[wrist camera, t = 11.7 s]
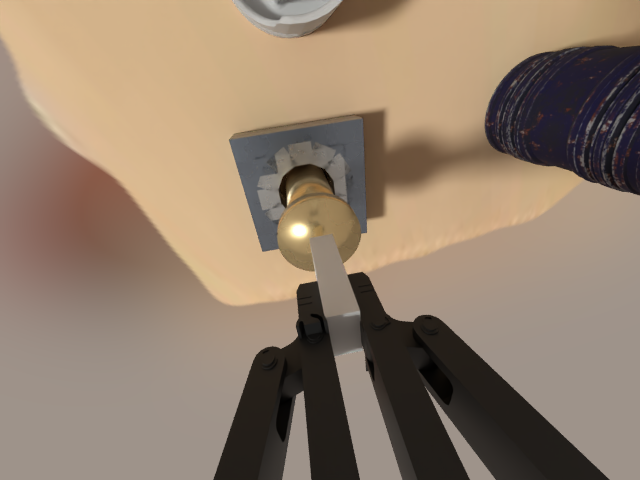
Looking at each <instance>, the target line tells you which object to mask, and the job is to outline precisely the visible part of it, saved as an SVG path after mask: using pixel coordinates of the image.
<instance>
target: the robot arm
mask: <svg viewBox="0 0 640 480" xmlns="http://www.w3.org/2000/svg"><path fill="white" fill-rule="evenodd" d="M309 240H310V246H311V252H312V257H313V263H314V269H315V274H316V279H317V281H315V282H310V283H305V284H300V285H299V287H298V289H297V302H298V314H299V319H298V321H297V323H296V329H297V332H298V337H297V338H296V340H295V341H294V342H292V343H291V344H289V345H288V346H286V347H284V348H282V349H280V348H278V347H273V346H272V347H267V348H265V349H263V350H261V351H260V352H259V353H258V354H257V355H256V357H255V359H254V361H253V364H252V366H251V370H250V372H249V375H248V378H247V381H246V384H245V388H244V390H243V393H242V396H241V399H240V402H239V405H238V408H237V411H236V414H235V417H234V420H233V423H232V426H231V429H230V432H229V435H228V438H227V441H226V444H225V447H224V450H223V453H222V456H221V459H220V462H219V465H218V468H217V471H216V474H215V477H214V480H282V476H283V471H284V465H285V458H286V452H287V446H288V440H289V435H290V429H291V423H292V416H293V411H294V405H295V399H296V395H297V394H298V393H300V392H302V391H304V398H305V409H306V422H307V433H308V444H309V455H310V468H311V479H312V480H360V478H359V473H358V468H357V463H356V459H355V454H354V449H353V444H352V440H351V435H350V430H349V425H348V420H347V416H346V411H345V406H344V401H343V396H342V392H341V387H340V382H339V377H338V373H337V368H336V363H335V358H334V356H339V355H343V354H348V353H353V352H358V351H362V350H363V349H364V352H365V361H366V371H369V374H370V377H371V380H372V383H373V387H374V390H375V393H376V396H377V399H378V402H379V406H380V409H381V412H382V415H383V418H384V422H385V425H386V428H387V431H388V434H389V438H390V441H391V444H392V447H393V451H394V453H395V457H396V460H397V463H398V467H399V470H400V473H401V476H402V479H403V480H470V479H469V477H468V475H467V473H466V471H465V469H464V467H463V464H462V462H461V460H460V458H459V456H458V454H457V452H456V450H455V448H454V446H453V444H452V442H451V440H450V438H449V435H448V434H447V432H446V429H445V427H444V425H443V423H442V421H441V419H440V417H439V415H438V413H437V411H436V408H435V406H434V404H433V402H432V400H431V398H430V396H429V394H428V392H427V390H428V391H429V392H430V393H431V395H432V396H433V397H434V399H435V400H436V401H437V403H438V404H439V405H440V407H441V408H442V409H443V411H444V412H445V413H446V414H447V416H448V417H449V418H450V420H451V421H452V422H453V424H454V425H455V426H456V428H457V429H458V430H459V431H460V433H461V434H462V435H463V437H464V438H465V440H466V441H467V442H468V444H469V445H470V446H471V447H472V449H473V450H474V451H475V453H476V454H477V455H478V457H479V458H480V459H481V461H482V462H483V463H484V465H485V466H486V467H487V469H488V470H489V471H490V472H491V474H492V475H493V476H494V478H495V479H496V480H609V479H608V478H607V477H606V476H605V475H604V474H603V473H602V472H601V471H600V470H599V469H598V468H597V467H596V466H595V465H593V464H592V463H591V462H590V461H589V460H588V459H587V458H586V457H585V456H584V455H583V454H582V453H581V452H580V451H579V450H578V449H577V448H576V447H574V446H573V445H572V444H571V443H570V442H569V441H568V440H567V439H566V438H565V437H564V436H563V435H562V434H561V433H560V432H559V431H558V430H557V429H555V428H554V427H553V426H552V425H551V424H550V423H549V422H548V421H547V420H546V419H545V418H544V417H543V416H542V415H541V414H540V413H539V412H537V411H536V409H534V408H533V407H532V406H531V405H530V404H529V403H528V402H527V401H526V400H525V399H524V398H523V397H522V396H521V395H520V394H519V393H518V392H517V391H515V390H514V389H513V388H512V387H511V386H510V385H509V384H508V383H507V382H506V381H505V380H504V379H503V378H502V377H501V376H500V375H498V373H497V372H495V371H494V370H493V369H492V368H491V367H490V366H489V365H488V364H487V363H486V362H485V361H484V360H483V359H482V358H481V357H480V356H479V355H478V354H476V353H475V352H474V351H473V350H472V349H471V348H470V347H469V346H468V345H467V344H466V343H465V342H464V341H463V340H462V339H461V338H460V337H459V336H457V335H456V334H455V333H454V332H453V331H452V330H451V329H450V328H449V327H448V326H447V325H446V324H445V323H444V322H443V321H441V320H440V319H439V318H437V317H434V316H431V315H421V316H418V317H417V318H416V319H415V320H414V322H405V321H398V320H395V319H393V318H391V317H390V316H389V315H387V314H386V312H385V311H384V309H383V306H382V304H381V302H380V300H379V298H378V296H377V294H376V292H375V290H374V287H373V285H372V283H371V281H370V279H369V277H368V276H367V275H365V274H364V273H363V272H359V273H354V274H349V275H347V273H346V271H345V268H344V265H343V262H342V259H341V257H340V254H339V251H338V248H337V246H336V243H335V240H334V237H333V235H332V234H329V235H324V236H318V237H313V238H309ZM362 346H363V348H362ZM425 387H426V388H427V390H426V388H425Z"/></svg>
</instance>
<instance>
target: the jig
mask: <svg viewBox="0 0 640 480" xmlns="http://www.w3.org/2000/svg"><path fill="white" fill-rule="evenodd" d="M229 142H230V145H231V148H232V152H233V155H234V158H235V162H236V165H237V168H238V172H239V175H240V178H241V182H242V185H243V188H244V192H245V195H246V198H247V202H248V205H249V208H250V212H251V215H252V218H253V222H254V225H255V228H256V232H257V235H258V238H259V241H260V245H261V248H262V251H263V252H264V251H270V250H275V249H279V246H278V239H277V233H278V222H279V219H280V217H281V214H282V213H283V211H284V210H285V208H286V207H287V199H286V198H285V197H284V196H283V195H282V194H281V191H280V187H279V186H280V183H281V180H282V177H283V176H284V175H285V174H286V173H287V172H289V171H290V170H291V169H292V168H293V167H295V166H299V165H305V164H313V165H316V166H318V167H321V168H323V169H325V170H326V171H327V173H328V174H329V179H330V188H331V190H332V192H333V194H334V195H336V196H338V197H340V198H342V199H343V200H345V201H346V202H347V203H348V204H349V205H350V206H351V208H352V209H353V211H354V213H355V215H356V216H357V218H358V220H359V223H360V227H361V234H362V233H367V219H366V191H365V162H364V134H363V118H361V117H359V116H356V115H350V116H344V117H337V118H331V119H325V120H319V121H312V122H306V123H300V124H294V125H287V126H281V127H275V128H269V129H262V130H256V131H250V132H244V133H237V134H234V135H233V136H232V137H231V138H230V139H229Z"/></svg>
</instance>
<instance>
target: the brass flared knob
mask: <svg viewBox="0 0 640 480" xmlns="http://www.w3.org/2000/svg"><path fill="white" fill-rule="evenodd" d="M286 196H287V207H286V208H285V210H284V211H283V213H282V214H281V217H280V219H279V222H278V233H277V239H278V246H279V249H280V251H281V253H282V255H283V256H284V258H285V259H286V260H287V261H288V262H289V263H291V264H292V265H294V266H295V267H297V268H300V269H303V270H306V271H314V272H315V269H314V263H313V257H312V252H311V246H310V240H309V238H313V237H318V236H324V235H329V234H332V235H333V237H334V240H335V243H336V246H337V248H338V251H339V254H340V257H341V259H342V262H343V263H344V262H346V261H347V260H348V259H349V258H350V257H351V256H352V255H353V254H354V252H355V251H356V249H357V247H358V245H359V242H360V238H361V227H360V223H359V220H358V218H357V216H356V215H355V213H354V211H353V209H352V208H351V206H350V205H349V204H348V203H347V202H346V201H345V200H343V199H342V198H340V197H338V196H336V195H334V194H333V192H332V190H331V188H330V185H329V183H328V181H327V179H326V177H325V175H324V173H323V171H322V169H321V168H320V167H318V166H316V165H313V164H305V165H299V166H295V167H293V168H292V169H291V170H290V171H289V172H288V174H287V176H286Z"/></svg>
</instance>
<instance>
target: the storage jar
mask: <svg viewBox="0 0 640 480" xmlns="http://www.w3.org/2000/svg"><path fill="white" fill-rule="evenodd" d="M485 133H486V136H487V139H488V141H489V143H490V144H491V146H492V147H493V148H495V149H496V150H497V151H500V152H502V153H505V154H510V155H512V156H514V157H515V158H518V159H520V160H524V161H527V162H531V163H533V164H537V165H542V166H556V167H560V168H563V169H566V170H570V171H573V172H574V173H575V174H577V175H578V176H579V177H582V178H584V179H585V180H587V181H590V182H593V183H600V184H601V185H604V186H606V187H609V188H613V189H616V190H619V191H622V192H630V193H633V194H637V195H640V46H632V47H622V48H619V47H615V46H594V47H576V48H569V49H564V50H561V51H557V52H545V53H540V54H536V55H534V56H531V57H529V58H527V59H525V60H524V61H522V62H521V63H519V64H518V65H517V66H515V67H514V68H513V69H512V70H511V71H510V72H509V73H508V74H507V75H506V76H505V77H504V78H503V80H502V81H501V82H500V84H499V85H498V87H497V88H496V90H495V92H494V93H493V95H492V97H491V100H490V102H489V105H488V108H487V111H486V117H485Z"/></svg>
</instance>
